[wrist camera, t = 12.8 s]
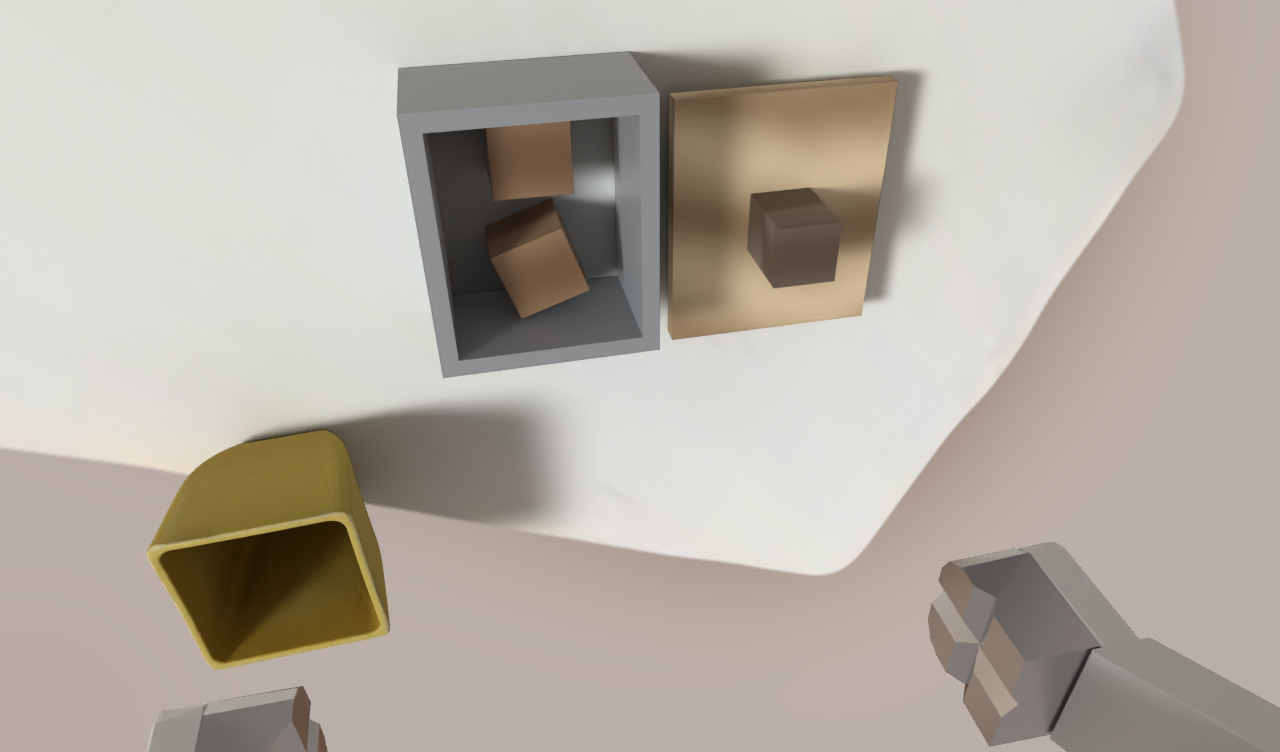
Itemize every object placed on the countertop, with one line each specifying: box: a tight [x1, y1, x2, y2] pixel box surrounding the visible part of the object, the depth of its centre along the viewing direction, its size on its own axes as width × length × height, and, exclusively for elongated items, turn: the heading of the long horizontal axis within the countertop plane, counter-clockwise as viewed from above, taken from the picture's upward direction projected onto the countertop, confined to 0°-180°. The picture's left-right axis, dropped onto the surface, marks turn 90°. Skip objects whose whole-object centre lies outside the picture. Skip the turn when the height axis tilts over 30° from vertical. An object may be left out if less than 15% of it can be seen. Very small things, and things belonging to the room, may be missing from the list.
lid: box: [668, 75, 898, 340], centre depth 43 cm, size 13×11×6 cm
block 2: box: [485, 198, 590, 319], centre depth 42 cm, size 4×4×4 cm
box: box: [397, 51, 660, 378], centre depth 39 cm, size 12×10×6 cm
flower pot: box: [146, 430, 390, 670], centre depth 44 cm, size 9×9×9 cm
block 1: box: [483, 121, 574, 201], centre depth 39 cm, size 4×4×4 cm
